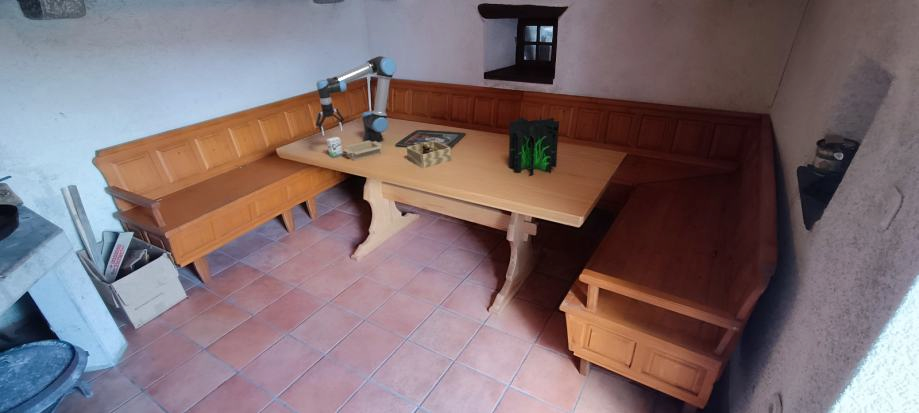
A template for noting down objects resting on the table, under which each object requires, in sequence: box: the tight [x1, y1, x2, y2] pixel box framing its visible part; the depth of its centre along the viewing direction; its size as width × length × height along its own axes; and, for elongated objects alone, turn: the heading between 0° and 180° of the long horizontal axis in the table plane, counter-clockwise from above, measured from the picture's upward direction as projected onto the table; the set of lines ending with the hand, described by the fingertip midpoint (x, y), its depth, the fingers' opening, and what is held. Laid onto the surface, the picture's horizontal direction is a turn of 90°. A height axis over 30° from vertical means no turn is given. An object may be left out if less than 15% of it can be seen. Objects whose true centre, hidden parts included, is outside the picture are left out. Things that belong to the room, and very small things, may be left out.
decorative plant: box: [508, 115, 560, 177], centre depth 267 cm, size 29×30×30 cm
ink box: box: [326, 136, 343, 156], centre depth 308 cm, size 9×5×12 cm, turn 137°
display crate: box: [406, 140, 452, 169], centre depth 292 cm, size 23×22×9 cm
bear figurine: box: [422, 143, 434, 154], centre depth 293 cm, size 14×15×12 cm
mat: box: [326, 152, 345, 159], centre depth 311 cm, size 9×12×1 cm
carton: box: [342, 140, 383, 162], centre depth 307 cm, size 26×22×6 cm
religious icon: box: [395, 129, 467, 149], centre depth 331 cm, size 40×45×3 cm
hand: (332, 133), depth 304 cm, fingers open, 13 cm apart
